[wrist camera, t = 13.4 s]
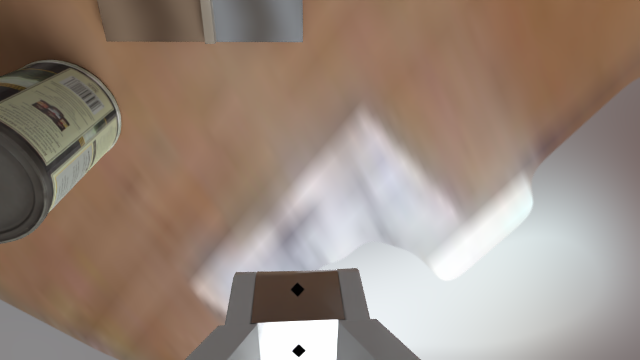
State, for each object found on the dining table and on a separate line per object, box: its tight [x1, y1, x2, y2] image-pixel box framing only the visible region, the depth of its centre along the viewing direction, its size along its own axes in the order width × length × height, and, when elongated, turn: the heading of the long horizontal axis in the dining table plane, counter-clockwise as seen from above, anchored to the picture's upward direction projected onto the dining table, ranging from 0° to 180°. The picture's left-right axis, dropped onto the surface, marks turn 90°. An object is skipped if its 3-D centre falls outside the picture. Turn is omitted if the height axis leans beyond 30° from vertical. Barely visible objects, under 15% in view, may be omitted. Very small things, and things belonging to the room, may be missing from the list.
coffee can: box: [0, 60, 121, 244], centre depth 32 cm, size 10×10×14 cm
